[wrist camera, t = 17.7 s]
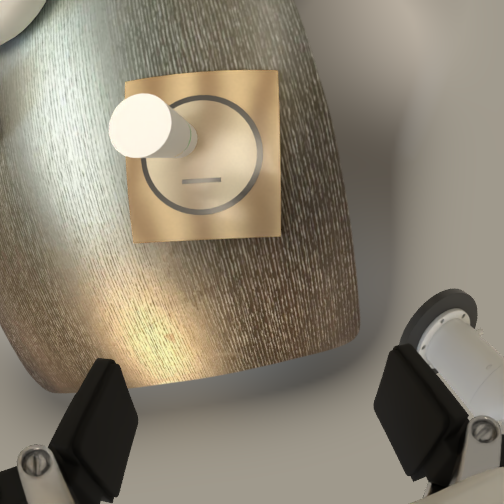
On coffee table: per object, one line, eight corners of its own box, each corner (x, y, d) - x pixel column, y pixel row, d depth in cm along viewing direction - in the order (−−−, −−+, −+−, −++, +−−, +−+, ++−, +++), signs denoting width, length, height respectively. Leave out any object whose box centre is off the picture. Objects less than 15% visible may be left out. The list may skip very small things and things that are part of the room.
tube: (177, 165, 32) (137, 171, 17) (152, 140, 30) (97, 128, 16) (205, 139, 31) (185, 123, 17) (180, 113, 30) (142, 80, 15)
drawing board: (276, 72, 30) (278, 69, 29) (279, 234, 36) (281, 237, 35) (127, 83, 29) (123, 80, 28) (135, 241, 35) (132, 244, 34)
